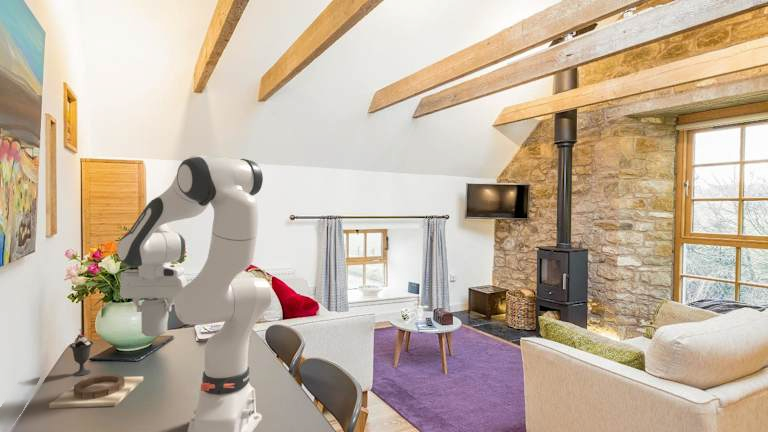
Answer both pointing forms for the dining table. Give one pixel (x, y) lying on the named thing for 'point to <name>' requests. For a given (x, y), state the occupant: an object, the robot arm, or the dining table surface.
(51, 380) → the dining table surface
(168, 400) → the dining table surface
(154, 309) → the can
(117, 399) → the ring board
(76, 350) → the sundae
